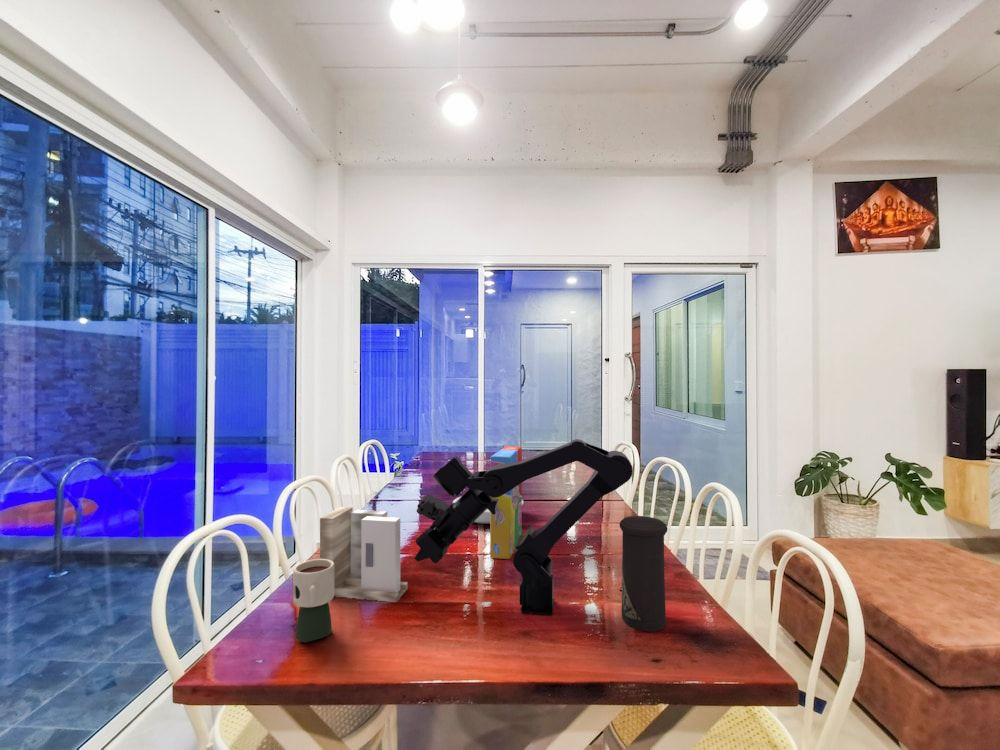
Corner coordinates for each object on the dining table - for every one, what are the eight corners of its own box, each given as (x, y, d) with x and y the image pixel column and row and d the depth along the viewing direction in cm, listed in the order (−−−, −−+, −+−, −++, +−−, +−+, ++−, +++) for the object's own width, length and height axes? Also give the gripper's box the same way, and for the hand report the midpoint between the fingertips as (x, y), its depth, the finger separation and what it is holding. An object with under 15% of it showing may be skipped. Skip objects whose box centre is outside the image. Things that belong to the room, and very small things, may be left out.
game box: (510, 560, 121) (509, 457, 121) (489, 558, 122) (489, 456, 122) (522, 534, 141) (521, 446, 141) (504, 533, 142) (504, 445, 142)
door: (400, 589, 103) (400, 517, 103) (394, 595, 99) (394, 522, 100) (367, 586, 104) (367, 516, 104) (360, 592, 101) (360, 520, 101)
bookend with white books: (413, 582, 108) (413, 509, 108) (396, 602, 98) (396, 522, 98) (342, 576, 111) (342, 506, 111) (319, 595, 101) (319, 518, 101)
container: (630, 605, 96) (630, 510, 97) (674, 619, 91) (673, 518, 91) (612, 622, 90) (612, 519, 90) (658, 638, 84) (657, 529, 84)
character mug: (295, 624, 89) (295, 557, 89) (334, 618, 91) (334, 552, 91) (290, 656, 79) (290, 580, 79) (334, 648, 81) (334, 574, 81)
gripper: (451, 475, 109) (407, 519, 111) (425, 494, 91) (373, 546, 92) (484, 510, 107) (438, 554, 109) (464, 536, 89) (410, 589, 91)
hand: (416, 559), depth 100 cm, fingers closed
